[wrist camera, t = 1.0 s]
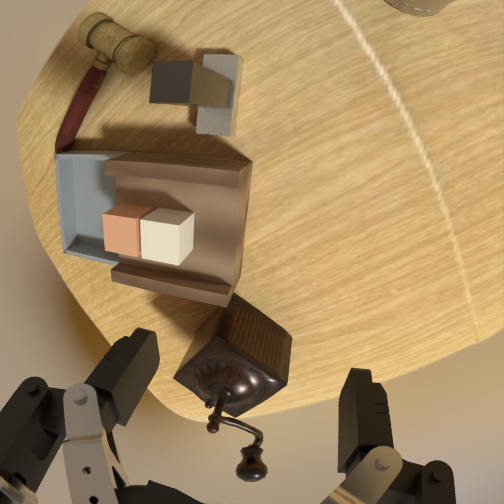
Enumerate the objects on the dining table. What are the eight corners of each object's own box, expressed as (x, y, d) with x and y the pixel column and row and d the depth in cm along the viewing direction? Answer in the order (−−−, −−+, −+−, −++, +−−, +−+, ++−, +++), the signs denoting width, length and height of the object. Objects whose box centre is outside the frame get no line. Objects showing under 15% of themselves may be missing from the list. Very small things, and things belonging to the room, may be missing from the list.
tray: (72, 150, 35) (55, 154, 32) (135, 151, 34) (120, 155, 31) (78, 243, 41) (63, 253, 38) (137, 256, 40) (124, 267, 37)
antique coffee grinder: (190, 336, 44) (139, 432, 28) (233, 290, 39) (186, 397, 23) (271, 390, 46) (251, 489, 30) (321, 355, 41) (317, 466, 25)
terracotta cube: (122, 202, 32) (102, 213, 28) (154, 206, 31) (135, 218, 28) (124, 236, 33) (105, 250, 30) (154, 242, 33) (137, 257, 29)
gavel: (66, 187, 35) (27, 147, 33) (87, 178, 39) (48, 140, 37) (142, 41, 25) (90, 10, 23) (162, 46, 29) (112, 15, 27)
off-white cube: (158, 207, 31) (140, 219, 27) (194, 212, 31) (179, 225, 27) (158, 242, 33) (141, 258, 29) (193, 249, 32) (178, 265, 29)
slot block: (138, 151, 34) (104, 160, 28) (252, 161, 33) (238, 171, 26) (139, 256, 40) (111, 281, 34) (240, 276, 38) (226, 307, 32)
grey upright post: (211, 58, 29) (154, 27, 16) (243, 59, 28) (202, 23, 16) (203, 132, 32) (143, 141, 20) (235, 135, 32) (189, 144, 20)
